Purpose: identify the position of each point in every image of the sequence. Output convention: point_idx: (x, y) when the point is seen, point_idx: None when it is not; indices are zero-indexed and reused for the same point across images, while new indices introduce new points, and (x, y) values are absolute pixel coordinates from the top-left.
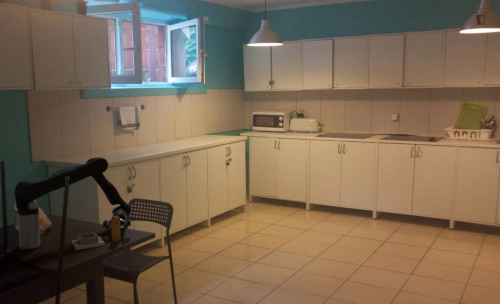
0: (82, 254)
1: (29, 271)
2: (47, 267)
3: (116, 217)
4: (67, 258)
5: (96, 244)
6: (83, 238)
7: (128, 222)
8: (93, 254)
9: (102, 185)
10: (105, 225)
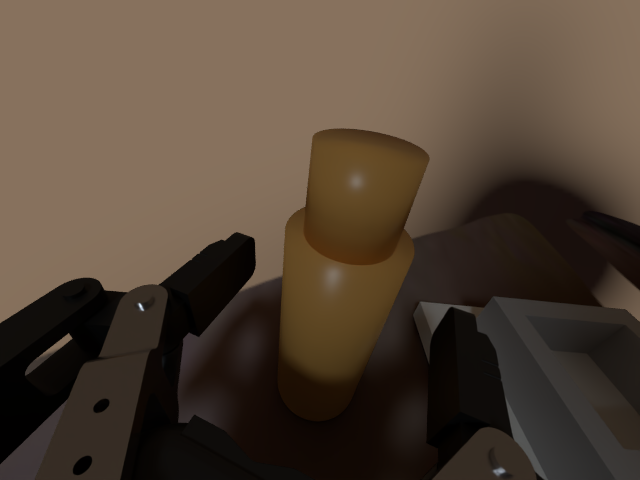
0: (512, 265)
1: (631, 229)
2: (588, 228)
3: (361, 133)
4: (562, 258)
5: (474, 310)
6: (613, 315)
7: (106, 296)
8: (457, 245)
9: None
10: (494, 348)
